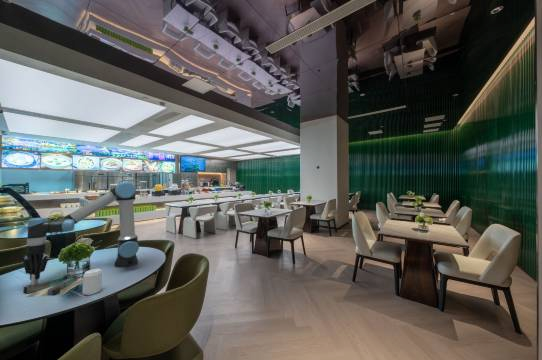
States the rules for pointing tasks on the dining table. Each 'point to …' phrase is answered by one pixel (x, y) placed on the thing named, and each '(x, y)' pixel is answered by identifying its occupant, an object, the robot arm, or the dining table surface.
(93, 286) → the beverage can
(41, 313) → the dining table surface
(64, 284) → the teal-banded grey bar
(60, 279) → the tongs arm
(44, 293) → the board
